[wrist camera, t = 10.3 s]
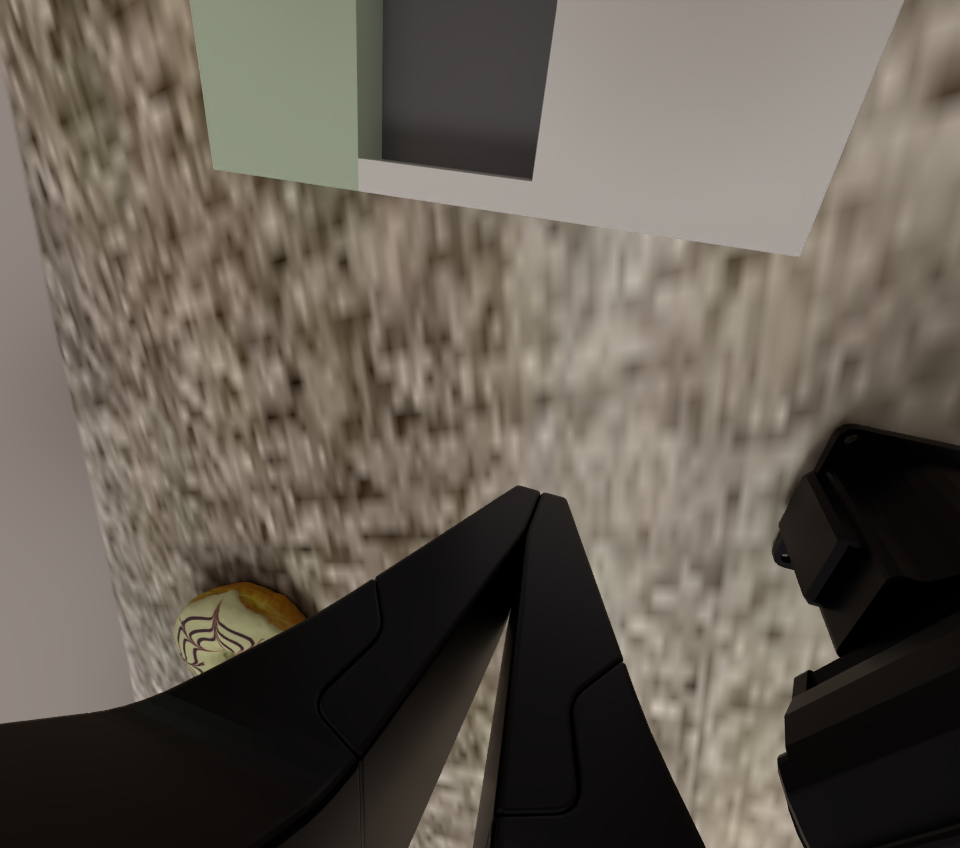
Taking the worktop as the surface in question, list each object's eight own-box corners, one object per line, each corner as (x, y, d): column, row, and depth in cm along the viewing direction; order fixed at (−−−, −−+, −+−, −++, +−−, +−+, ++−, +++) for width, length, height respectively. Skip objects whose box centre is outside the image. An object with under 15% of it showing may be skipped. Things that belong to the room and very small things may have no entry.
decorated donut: (360, 646, 33) (328, 698, 30) (296, 697, 39) (264, 745, 35) (236, 547, 32) (190, 589, 29) (190, 614, 38) (147, 656, 34)
